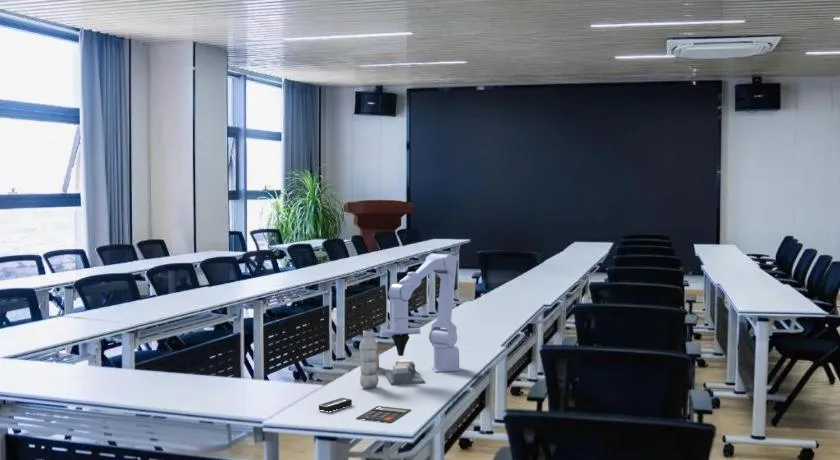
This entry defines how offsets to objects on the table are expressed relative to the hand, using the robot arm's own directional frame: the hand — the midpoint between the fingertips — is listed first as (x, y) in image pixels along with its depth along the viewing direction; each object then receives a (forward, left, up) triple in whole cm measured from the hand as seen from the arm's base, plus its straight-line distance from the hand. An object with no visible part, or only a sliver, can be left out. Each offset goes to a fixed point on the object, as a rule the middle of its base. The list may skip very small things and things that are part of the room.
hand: (400, 355), depth 298 cm
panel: (-2, -6, -10) cm, 11 cm away
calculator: (+12, +41, -10) cm, 44 cm away
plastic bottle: (+12, +6, -10) cm, 17 cm away
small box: (+8, -23, -10) cm, 26 cm away
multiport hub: (+26, +30, -10) cm, 41 cm away
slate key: (0, +1, -7) cm, 7 cm away
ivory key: (-4, -13, -7) cm, 16 cm away
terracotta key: (-2, -6, -7) cm, 10 cm away
